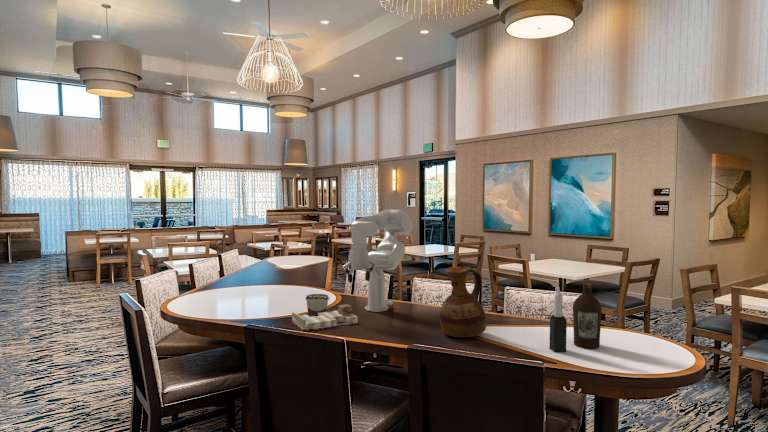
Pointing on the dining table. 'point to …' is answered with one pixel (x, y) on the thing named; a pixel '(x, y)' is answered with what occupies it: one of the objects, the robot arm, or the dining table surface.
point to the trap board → (323, 320)
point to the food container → (317, 303)
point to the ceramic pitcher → (462, 306)
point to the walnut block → (344, 309)
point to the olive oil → (587, 319)
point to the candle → (558, 325)
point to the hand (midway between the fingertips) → (358, 281)
